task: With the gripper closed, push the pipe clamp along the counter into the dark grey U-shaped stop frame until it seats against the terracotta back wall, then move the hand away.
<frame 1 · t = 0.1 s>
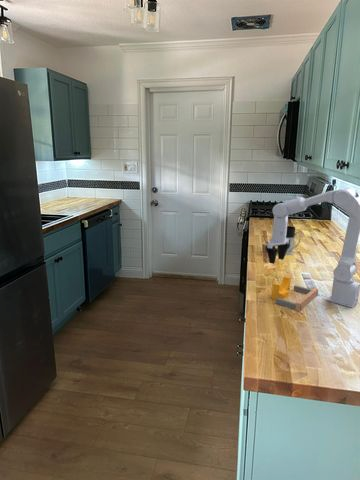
hand: (276, 261, 148), 10 cm above the worktop, tool pointing down, fingers open, 7 cm apart
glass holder: (289, 254, 193), on the worktop
stop frame: (290, 297, 136), on the worktop
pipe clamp: (282, 296, 138), on the worktop
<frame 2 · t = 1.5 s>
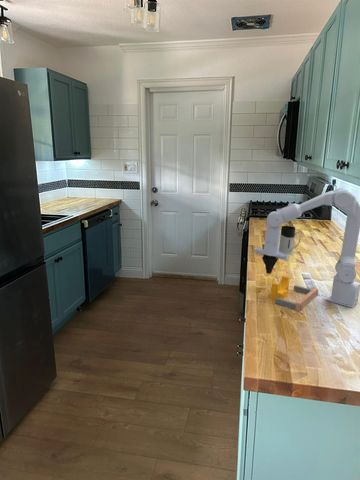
hand: (269, 273, 140), 8 cm above the worktop, tool pointing down, fingers closed
nothing on the worktop moved.
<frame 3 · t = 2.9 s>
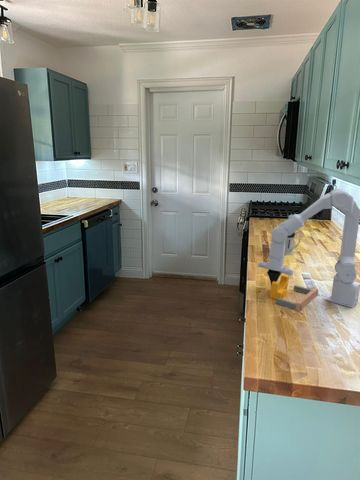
hand: (273, 287, 140), 2 cm above the worktop, tool pointing down, fingers closed
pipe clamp: (280, 294, 138), on the worktop, touching gripper
everything else where it was.
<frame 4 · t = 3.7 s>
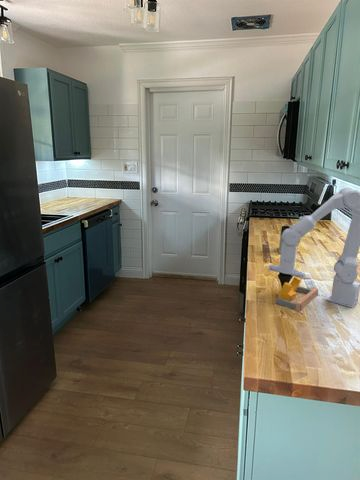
hand: (283, 290, 137), 2 cm above the worktop, tool pointing down, fingers closed
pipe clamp: (288, 295, 136), on the worktop, touching gripper
everything else where it was.
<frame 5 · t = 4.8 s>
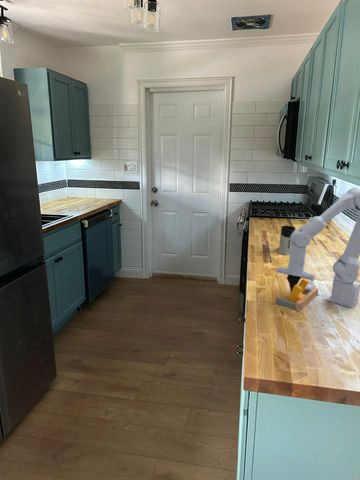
hand: (292, 293, 135), 2 cm above the worktop, tool pointing down, fingers closed, pressing on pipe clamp
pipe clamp: (296, 298, 134), point 1 cm above the worktop, touching gripper, stop frame
everything else where it was.
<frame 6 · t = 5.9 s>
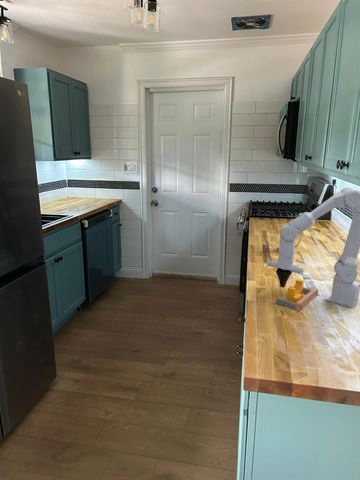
hand: (282, 286, 137), 4 cm above the worktop, tool pointing down, fingers closed
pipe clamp: (296, 300, 134), on the worktop
everything else where it was.
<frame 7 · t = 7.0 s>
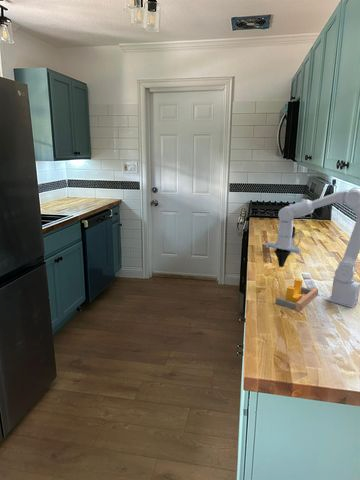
hand: (281, 266, 143), 9 cm above the worktop, tool pointing down, fingers closed
nothing on the worktop moved.
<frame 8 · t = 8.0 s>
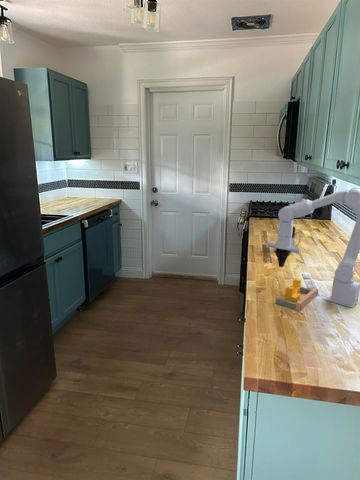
hand: (281, 266, 143), 9 cm above the worktop, tool pointing down, fingers closed
nothing on the worktop moved.
at the end: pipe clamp 1.3 cm from the target spot on the stop frame, point 0.0 cm above the stop frame's base; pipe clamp tilted 0°; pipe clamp moved 4.5 cm from its start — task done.
